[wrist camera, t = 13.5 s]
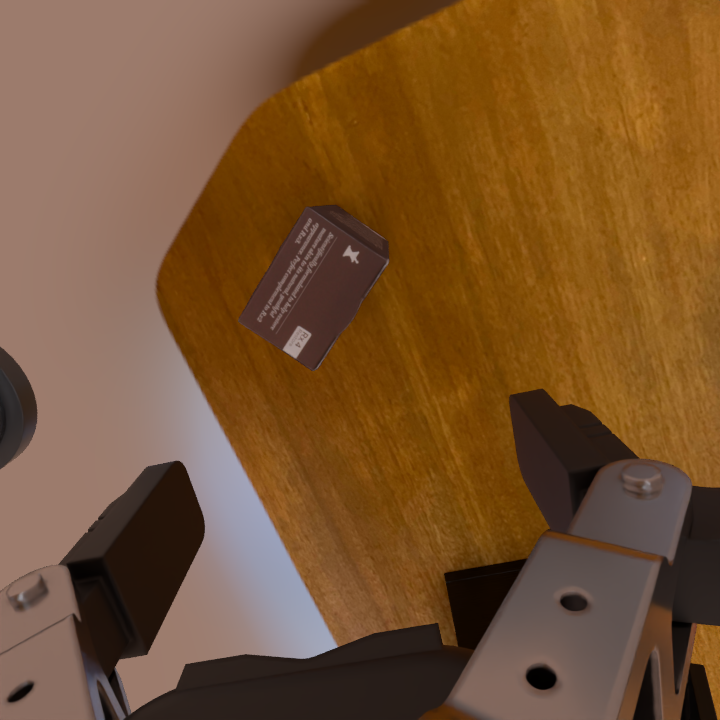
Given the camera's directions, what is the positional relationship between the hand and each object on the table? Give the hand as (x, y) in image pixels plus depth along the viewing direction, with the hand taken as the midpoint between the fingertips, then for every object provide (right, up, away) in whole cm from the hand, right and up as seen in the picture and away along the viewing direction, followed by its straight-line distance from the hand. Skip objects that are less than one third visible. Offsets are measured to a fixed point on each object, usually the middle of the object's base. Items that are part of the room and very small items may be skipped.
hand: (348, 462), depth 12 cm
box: (-1, +9, +21) cm, 23 cm away
